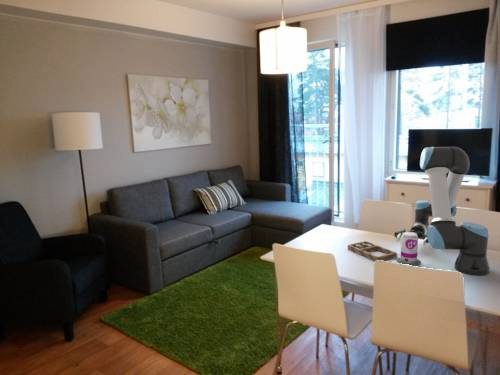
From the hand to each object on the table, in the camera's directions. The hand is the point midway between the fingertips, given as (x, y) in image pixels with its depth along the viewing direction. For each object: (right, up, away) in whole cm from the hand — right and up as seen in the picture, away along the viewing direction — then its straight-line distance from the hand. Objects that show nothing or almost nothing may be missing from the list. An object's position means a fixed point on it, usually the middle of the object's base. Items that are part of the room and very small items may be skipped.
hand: (410, 241), depth 210 cm
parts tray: (-17, -8, +13) cm, 23 cm away
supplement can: (-2, -10, -1) cm, 11 cm away
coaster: (-2, -11, -2) cm, 11 cm away
